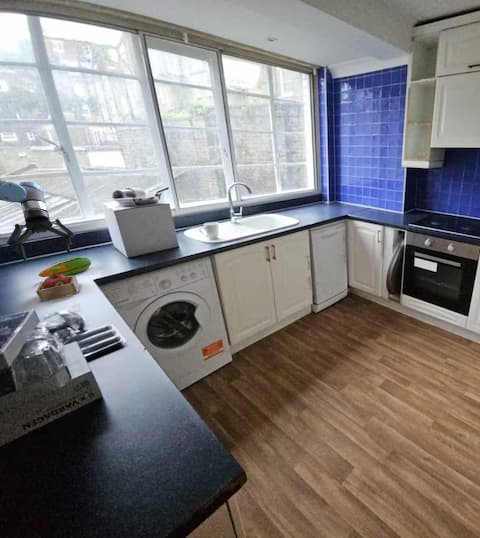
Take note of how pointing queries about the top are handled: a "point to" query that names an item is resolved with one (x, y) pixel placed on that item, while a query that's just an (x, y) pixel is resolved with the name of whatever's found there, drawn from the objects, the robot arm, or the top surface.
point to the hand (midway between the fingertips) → (46, 254)
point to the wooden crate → (58, 289)
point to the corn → (68, 267)
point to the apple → (55, 279)
